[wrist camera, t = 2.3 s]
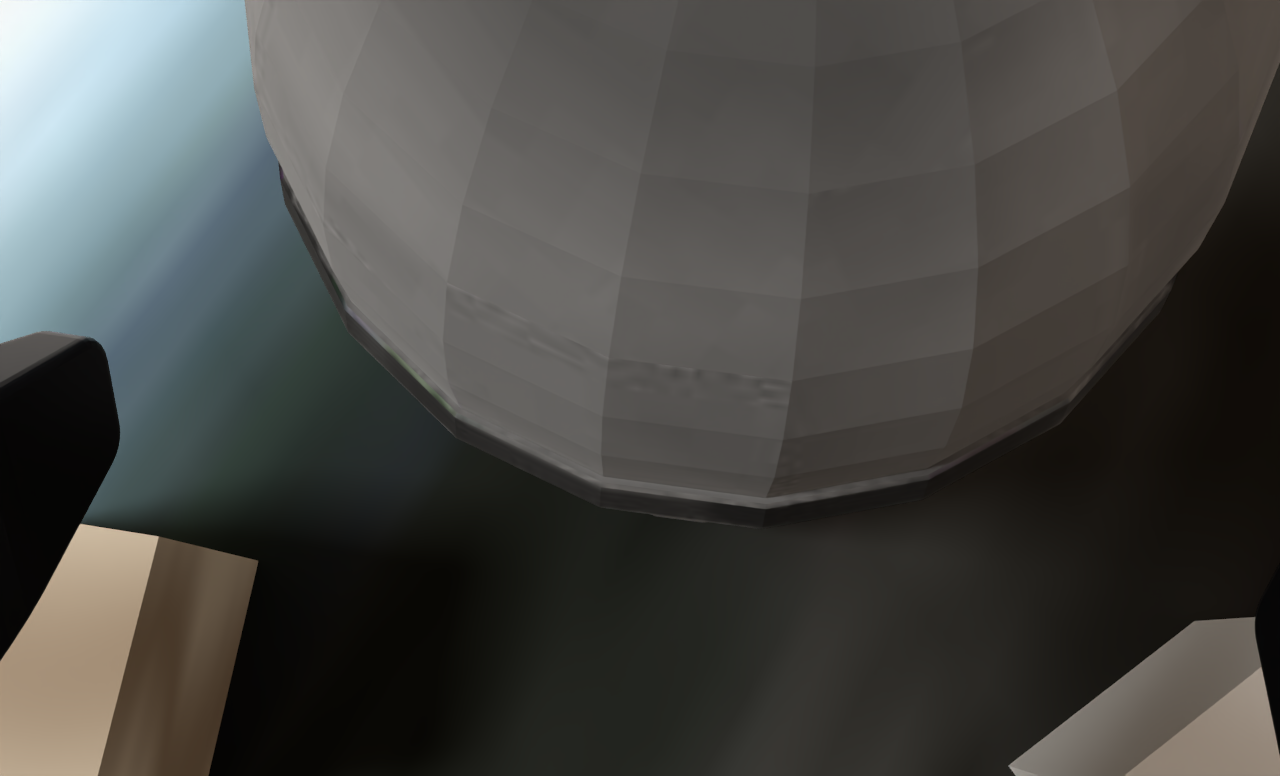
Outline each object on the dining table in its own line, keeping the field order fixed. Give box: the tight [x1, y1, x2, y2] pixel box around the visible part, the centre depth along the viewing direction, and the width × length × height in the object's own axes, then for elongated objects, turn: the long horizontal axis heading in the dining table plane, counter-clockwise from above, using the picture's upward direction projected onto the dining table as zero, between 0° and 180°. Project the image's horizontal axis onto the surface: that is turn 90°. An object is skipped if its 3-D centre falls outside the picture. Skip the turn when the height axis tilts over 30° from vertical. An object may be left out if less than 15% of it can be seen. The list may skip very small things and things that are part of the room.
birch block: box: [0, 524, 258, 776], centre depth 17 cm, size 4×4×4 cm
